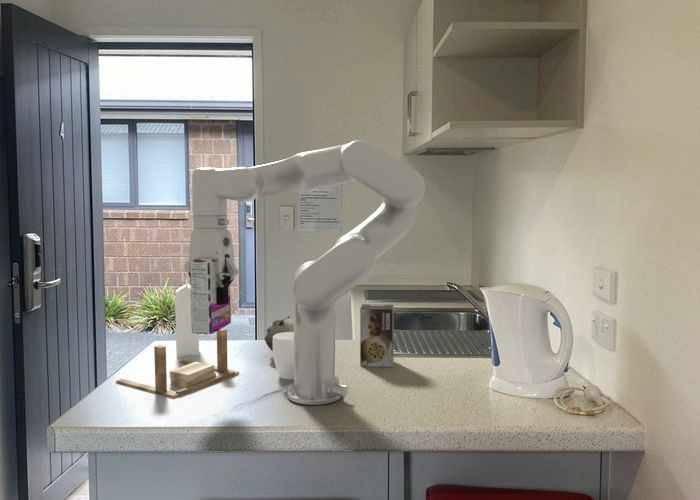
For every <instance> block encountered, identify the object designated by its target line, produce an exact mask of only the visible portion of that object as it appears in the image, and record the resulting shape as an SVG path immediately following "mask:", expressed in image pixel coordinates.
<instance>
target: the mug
mask: <svg viewBox="0 0 700 500" xmlns="http://www.w3.org/2000/svg"><path fill="white" fill-rule="evenodd" d="M272 357H273V359H274V361H273V362H274V366H275V368H276V371H277V373H278V376H279V378H280V379H283V380H294V332H282V333H277V334H275V335H274V336H273V351H272Z"/></svg>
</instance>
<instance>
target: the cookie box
mask: <svg viewBox="0 0 700 500" xmlns="http://www.w3.org/2000/svg"><path fill="white" fill-rule="evenodd" d="M359 331H360V332H359V334H360V336H359V338H360V339H359V342H360V343H359V344H360V346H359V347H360V349H359V358H360V361H359V362H360V363H359V367H373V368H374V367H379V368H380V367H382V368H385V367H386V368H393V367H394V304H377V303H375V304H373V303H372V304H368V303H367V304H366V303H364V304H363V303H362V304H361V306H360V308H359Z"/></svg>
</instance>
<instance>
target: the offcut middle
mask: <svg viewBox="0 0 700 500" xmlns="http://www.w3.org/2000/svg"><path fill="white" fill-rule="evenodd" d="M216 376H217V372H215V371H214V372H213V373H211V374H208V375H206V376H203V377H201V378H198V379H196V380H193V381H191V382H185V381H180V380H175V379H170V385H173V386H176V387H179V388H181V389H183V388H186V387H189V386H191V385H194V384H197V383H200V382H202V381H205V380H208V379H211V378H213V377H216Z"/></svg>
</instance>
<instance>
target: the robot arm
mask: <svg viewBox="0 0 700 500" xmlns="http://www.w3.org/2000/svg"><path fill="white" fill-rule="evenodd" d="M191 174H192V175H191V190H192V191H191V192H192V194H191V195H192V198H191V199H192V229H191V233H190V238H189V249H188V250H189V254H188V255H189V256H188V258H189V260H188V261H187V262H186V263H185V265H184V266H183V267H184V270H185V271H186V272H187V273H188V277H189V278H190V260H194V259H197V258H204V259H213V260H214V266H215V274H216V277H217V282H218V286H219V287H217V305H223V304H228V302H229V292H228V286H230V287H231V286H232V285H231V284H232V282H233V281H234V280H235V278H236V277H237V275H239V270H238V268H237V267H236V265H235V254H234V243H233V238H232V234H231V230H230V229H228V225H229V224H230V220H229V219H228V200H230V201H237V202H249V201H251V200H257V199H261V198H262V199H263V198H266V197H270V196H275V195H279V194H280V195H281V194H285V193H293V192H308V191H312V190H317V189H322V188H326V187H333V186H337V185H342V184H346V183H351V182H358V183H359V184H361V185H362V186H364V187H365V188H367V189H369V190H370V191H372V192H374V193H375V194H377V195H379V196H380V197H382V202H381V205H380V206H379V208H378V209H377V210H376V211H375V212H374V213H373V214H371V215H370V216H368V217H367V218H366V219H365V220H364V221H363V222H361V223H360V224H359V225H356V227H355V228H354V227H353V229H351V230H350V231H349V232H347V233H345V234H344V235H343V236H341V237H339V238H338V239H337V240H336V241H335V243H334V244H333V247H332V248H330V249H329V250H328V251H326V252H325V253H324V254H322V255H321V256H320V257H318V258H317V259H316V260H310V261H309V260H308V261H307V262H304V263H302V264H301V265H300V266H299V267H298V268H297V270H296V272H295V273H294V276H293V279H292V280H293V281H292V293H293V294H292V295H293V321H294V379H293V386H291V387H289V389H288V390H287V393H286V397H287V399H288V400H290V401H291V402H293V403H296V404H300V405H307V406H309V405H310V406H316V405H317V406H319V405H327V404H331V403H334V402H337V401H338V400H340V399H341V397H342V398H346V397H347V394H348V391H349V386H348V385H345V384H340V377H337V376H336V301H338V300H339V299H341V298H342V297H343V296H345V295H346V294H347V293H348V292H349V291H351V290H352V289H353V288H355V287H357V285H359V284H360V283H362V282H363V281H365V279H366V278H367V277H368V276H370V275H371V273H372V272H373V271H374V269H375V267H376V264H377V261H378V260H377V259H378V258H379V257H381V256H382V255H383V254H385V252H387V251H388V250H389V249H391V248H392V247H393V246H394V245H395V244H397V243H398V242H399V241H400V240H402V239H403V237H405V235H406V234H408V232H409V231H410V229H411V227H413V224H414V221H415V219H416V216H417V211H418V204H419V202H421V200H422V199H423V197H424V195H425V190H426V188H425V187H426V186H425V181H424V178H423V177H422V175H421V174H420V173H419V172H418V171H417V170H415V169H414V168H413V167H411V166H409V165H407V164H405V163H404V162H403V161H401V160H399V159H397V158H396V157H394V156H393V155H390V153H388V152H386V151H384V150H383V149H381V148H380V147H378V146H376V145H375V144H373V143H371V141H368V140H364V139H357V140H352V141H351V142H348V143H345V144H340V145H335V146H330V147H325V148H322V149H321V148H320V149H315V150H310V151H304V152H300V153H297V154H295V155H293V156H291V157H288V158H285V159H282V160H279V161H275V162H270V163H266V164H261V165H255V166H251V167H247V166H239V167H238V166H237V167H231V168H221V167H220V168H218V167H198V168H195V169H194V170H193V171H192V173H191ZM228 273H229V274H228ZM221 276H223V278H224V279H223V280H222V277H221Z"/></svg>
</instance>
